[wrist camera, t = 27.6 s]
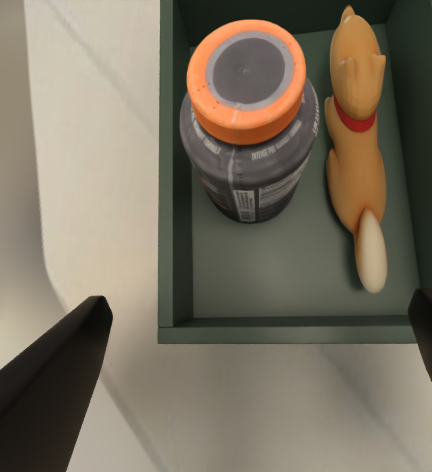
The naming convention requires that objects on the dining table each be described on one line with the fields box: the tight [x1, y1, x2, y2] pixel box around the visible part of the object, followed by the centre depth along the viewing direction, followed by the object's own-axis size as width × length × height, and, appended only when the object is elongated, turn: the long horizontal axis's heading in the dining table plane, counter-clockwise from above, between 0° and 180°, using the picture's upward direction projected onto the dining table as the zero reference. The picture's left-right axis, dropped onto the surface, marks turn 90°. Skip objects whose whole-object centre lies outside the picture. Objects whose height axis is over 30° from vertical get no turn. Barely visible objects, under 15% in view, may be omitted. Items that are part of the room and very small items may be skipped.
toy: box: [325, 5, 387, 294], centre depth 18 cm, size 3×17×5 cm, turn 2°
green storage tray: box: [158, 0, 432, 344], centre depth 19 cm, size 22×16×6 cm
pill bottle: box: [180, 20, 320, 224], centre depth 16 cm, size 6×6×11 cm
